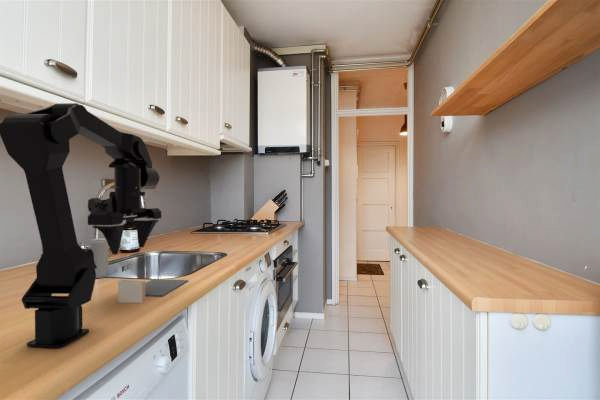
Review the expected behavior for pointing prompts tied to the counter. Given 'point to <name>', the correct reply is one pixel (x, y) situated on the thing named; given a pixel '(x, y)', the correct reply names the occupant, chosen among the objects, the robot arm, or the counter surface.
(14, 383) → the counter surface
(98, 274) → the beverage can
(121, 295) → the tile
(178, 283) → the mat
